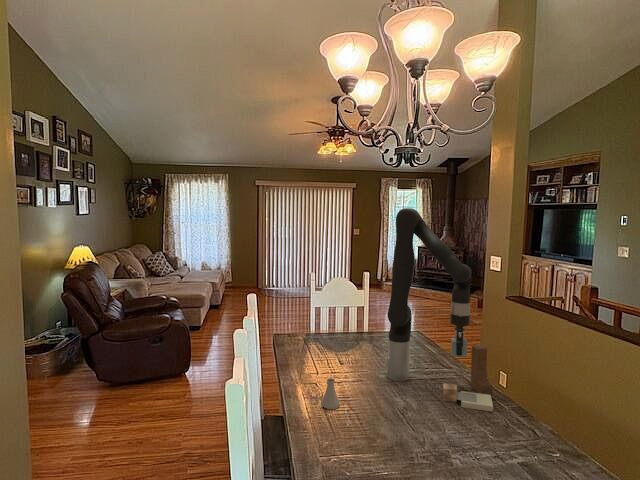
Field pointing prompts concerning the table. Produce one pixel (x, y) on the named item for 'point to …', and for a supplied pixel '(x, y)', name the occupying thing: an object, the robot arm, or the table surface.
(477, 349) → the wooden block
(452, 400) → the oak block
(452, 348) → the cube
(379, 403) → the table surface
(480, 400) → the foundation board
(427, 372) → the table surface
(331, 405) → the flask
